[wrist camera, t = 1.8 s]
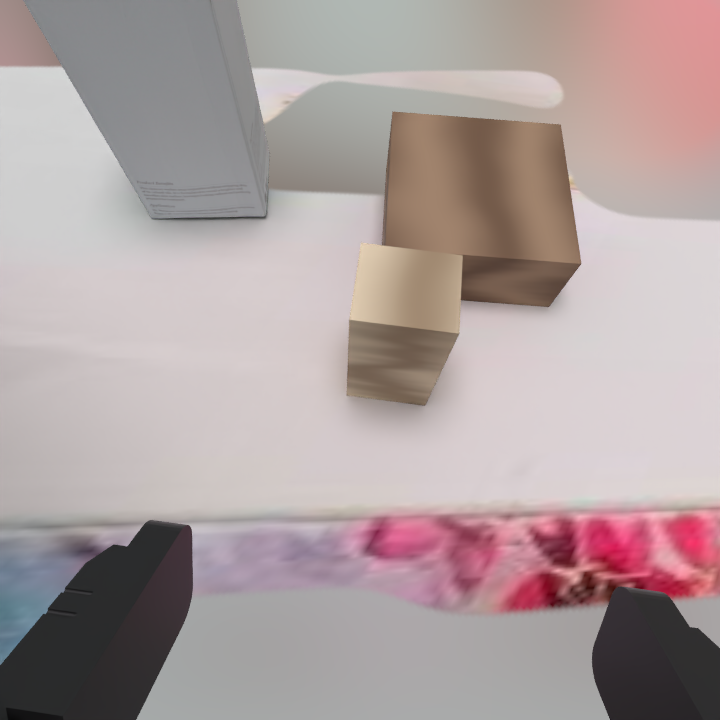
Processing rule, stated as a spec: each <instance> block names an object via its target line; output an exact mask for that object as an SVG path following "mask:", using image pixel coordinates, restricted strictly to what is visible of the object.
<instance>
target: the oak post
mask: <svg viewBox="0 0 720 720" xmlns="http://www.w3.org/2000/svg"><path fill="white" fill-rule="evenodd" d="M462 260H463V255H456V254H447V253H439V252H431V251H423V250H415V249H407V248H399V247H391V246H383V245H375V244H367V243H361V247H360V253H359V260H358V266H357V273H356V279H355V286H354V292H353V299H352V305H351V312H350V318H349V344H348V374H347V395H348V396H355V397H363V398H371V399H379V400H386V401H394V402H402V403H409V404H417V405H426V403H427V401H428V398H429V396H430V394H431V392H432V390H433V388H434V386H435V384H436V382H437V379H438V377H439V375H440V373H441V371H442V369H443V367H444V365H445V363H446V360H447V358H448V356H449V354H450V352H451V350H452V348H453V346H454V344H455V342H456V339H457V337H458V335H459V328H460V305H461V283H462Z"/></svg>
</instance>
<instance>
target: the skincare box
mask: <svg viewBox="0 0 720 720" xmlns="http://www.w3.org/2000/svg"><path fill="white" fill-rule="evenodd" d="M23 1H24V2H25V4H26V6H27V7H28V9H29V11H30V12H31V14H32V16H33V17H34V19H35V21H36V22H37V24H38V26H39V28H40V29H41V31H42V33H43V34H44V36H45V38H46V39H47V41H48V43H49V45H50V46H51V48H52V49H53V51H54V53H55V55H56V57H57V58H58V60H59V61H60V63H61V65H62V67H63V68H64V70H65V72H66V73H67V75H68V77H69V79H70V80H71V82H72V84H73V85H74V87H75V89H76V90H77V92H78V94H79V95H80V97H81V99H82V101H83V103H84V104H85V106H86V108H87V109H88V111H89V113H90V114H91V116H92V118H93V120H94V121H95V123H96V125H97V126H98V128H99V130H100V131H101V133H102V135H103V136H104V138H105V140H106V142H107V143H108V145H109V147H110V148H111V150H112V152H113V153H114V155H115V157H116V158H117V160H118V162H119V164H120V165H121V167H122V169H123V170H124V172H125V174H126V176H127V177H128V179H129V181H130V182H131V184H132V186H133V187H134V189H135V191H136V192H137V194H138V196H139V198H140V199H141V201H142V203H143V204H144V206H145V208H146V210H147V211H148V213H149V215H150V217H151V218H197V217H244V216H265V215H266V210H267V195H268V178H269V177H268V176H269V161H270V152H269V148H268V143H267V138H266V134H265V129H264V124H263V119H262V115H261V110H260V106H259V101H258V96H257V92H256V87H255V83H254V79H253V74H252V69H251V65H250V61H249V56H248V51H247V46H246V41H245V37H244V32H243V27H242V23H241V18H240V13H239V9H238V4H237V0H23Z"/></svg>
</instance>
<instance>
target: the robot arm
mask: <svg viewBox="0 0 720 720" xmlns="http://www.w3.org/2000/svg"><path fill="white" fill-rule="evenodd" d="M192 590H193V568H192V530H191V527H190V526H189V525H183V524H176V523H169V522H162V521H154V520H149V521H148V522H146V523H145V524H144V525H143V527H142V528H141V529H140V531H139V532H138V533H137V535H136V536H135V537H134V539H133V540H132V541H131V542H130V544H129V545H128V546H120V545H112V546H111V547H109V548H108V549H106V550H105V551H103V552H102V553H100V554H99V555H97V556H96V557H94V558H93V559H91V560H90V561H88V562H87V563H86V564H85V565H84V566H83V567H82V568H81V570H80V571H79V572H78V573H77V574H76V576H75V577H74V578H73V579H72V580H71V581H70V583H69V584H68V585H67V586H66V587H65V591H64V593H60V595H59V596H58V597H57V598H56V599H55V601H54V602H53V603H52V604H51V605H50V607H49V608H48V611H47V613H46V614H43V615H42V616H41V617H40V619H39V620H38V621H37V622H36V623H35V625H34V626H33V627H32V628H31V629H30V631H29V632H28V633H27V634H26V635H25V637H24V638H23V639H22V640H21V641H20V643H19V644H18V645H17V646H16V647H15V649H14V650H13V651H12V652H11V653H10V655H9V656H8V657H7V658H6V659H5V660H4V662H3V663H2V664H1V665H0V720H136V719H137V716H138V715H139V713H140V711H141V709H142V707H143V705H144V703H145V701H146V699H147V697H148V695H149V693H150V691H151V688H152V686H153V684H154V682H155V680H156V678H157V676H158V674H159V672H160V670H161V668H162V666H163V664H164V662H165V660H166V658H167V656H168V654H169V652H170V650H171V648H172V646H173V644H174V642H175V640H176V638H177V636H178V634H179V632H180V630H181V628H182V626H183V624H184V621H185V619H186V616H187V613H188V610H189V606H190V603H191V598H192ZM592 667H593V674H594V679H595V682H596V685H597V688H598V691H599V693H600V696H601V698H602V701H603V703H604V706H605V708H606V710H607V713H608V716H609V718H610V720H720V648H719V647H718V646H717V645H716V644H715V643H713V642H712V641H711V640H710V639H709V638H708V637H707V636H706V635H705V634H704V633H702V632H701V631H700V630H699V629H698V628H692V627H689V625H688V624H687V622H686V621H685V619H684V618H683V616H682V615H681V613H680V612H679V610H678V609H677V607H676V606H675V604H674V603H673V601H672V600H671V599H670V597H669V596H668V595H666V594H665V593H662V592H657V591H650V590H643V589H636V588H628V587H617V588H616V589H615V590H614V592H613V594H612V596H611V599H610V602H609V605H608V607H607V610H606V613H605V616H604V619H603V622H602V624H601V627H600V630H599V632H598V635H597V638H596V641H595V644H594V647H593V653H592Z"/></svg>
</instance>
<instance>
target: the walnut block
mask: <svg viewBox="0 0 720 720" xmlns="http://www.w3.org/2000/svg"><path fill="white" fill-rule="evenodd" d="M382 245H383V246H391V247H399V248H407V249H415V250H423V251H431V252H439V253H447V254H456V255H463V260H462V283H461V300H466V301H479V302H492V303H505V304H518V305H531V306H544V307H549V306H550V305H551V303H552V302H553V301H554V299H555V298H556V297H557V295H558V294H559V293H560V291H561V290H562V289H563V287H564V286H565V285H566V283H567V282H568V281H569V279H570V278H571V277H572V275H573V274H574V273H575V271H576V270H577V269H578V267H579V266H580V265H581V259H580V252H579V245H578V238H577V232H576V225H575V218H574V211H573V205H572V198H571V191H570V184H569V177H568V171H567V164H566V157H565V150H564V144H563V137H562V131H561V125H558V124H545V123H532V122H519V121H507V120H494V119H479V118H467V117H454V116H441V115H429V114H416V113H403V112H393V113H392V122H391V132H390V141H389V150H388V159H387V168H386V183H385V202H384V219H383V237H382Z"/></svg>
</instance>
